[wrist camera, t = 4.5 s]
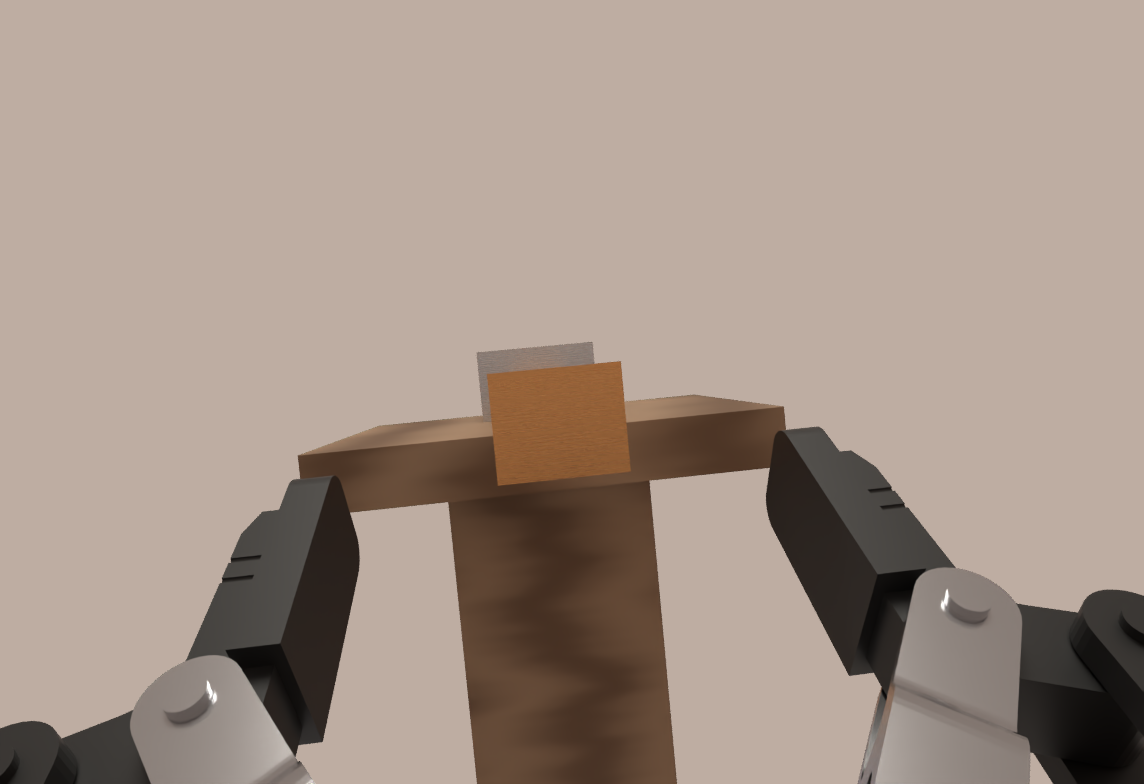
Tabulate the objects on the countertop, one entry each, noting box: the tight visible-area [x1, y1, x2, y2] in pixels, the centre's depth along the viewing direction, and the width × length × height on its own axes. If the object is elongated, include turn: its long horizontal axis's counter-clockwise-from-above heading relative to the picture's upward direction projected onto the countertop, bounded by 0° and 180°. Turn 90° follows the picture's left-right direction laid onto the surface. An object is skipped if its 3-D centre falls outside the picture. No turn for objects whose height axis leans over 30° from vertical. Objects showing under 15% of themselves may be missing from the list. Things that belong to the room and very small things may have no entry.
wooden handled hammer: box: [477, 342, 631, 486], centre depth 23 cm, size 5×22×3 cm, turn 4°
